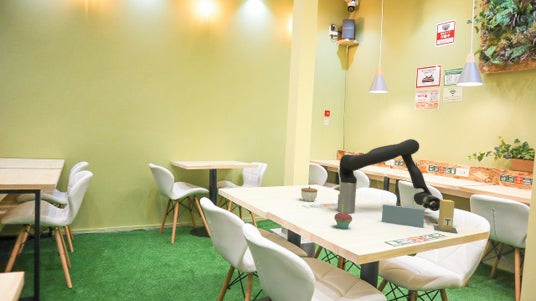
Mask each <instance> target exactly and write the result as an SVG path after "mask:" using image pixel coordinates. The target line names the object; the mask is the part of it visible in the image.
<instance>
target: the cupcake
mask: <svg viewBox="0 0 536 301" xmlns="http://www.w3.org/2000/svg"><path fill="white" fill-rule="evenodd" d="M333 219H334V220H335V222H336V226H337V228H339V229H343V230H345V229H346V230H347V229H349V225H350V224H351V223H352V221H353V217H352V215H350V213H345V212H343V203H342V212H336V213H335V215H334V218H333Z"/></svg>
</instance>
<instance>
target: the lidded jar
mask: <svg viewBox="0 0 536 301" xmlns="http://www.w3.org/2000/svg"><path fill="white" fill-rule="evenodd" d="M300 190H301V191H300V195H301V198H302V199H303V201H304V202H309V203H312V202H314V201H315V200H316V198H317V197H318V196H317V195H318V189H316V188H312V187H311V186H308V187H303V188H301V189H300Z"/></svg>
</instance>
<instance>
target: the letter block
mask: <svg viewBox="0 0 536 301" xmlns="http://www.w3.org/2000/svg"><path fill="white" fill-rule="evenodd" d="M439 199H440V208H439V210H438V224H437V225H438V227H439V228H440V229H443V230H452V228H454V227H453V226H454V212H455V203H456V202H455V201H453V200H451V199H441V198H439Z"/></svg>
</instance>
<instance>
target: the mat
mask: <svg viewBox="0 0 536 301" xmlns="http://www.w3.org/2000/svg"><path fill="white" fill-rule="evenodd" d="M433 229H434V231H437V232H444V233H445V232H446V233H451V234H452V233H453V234H458V230H457V228H456V227H453V228H452V230H443V229H440V228H439V227H438V224H437V225H436V224H433Z"/></svg>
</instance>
